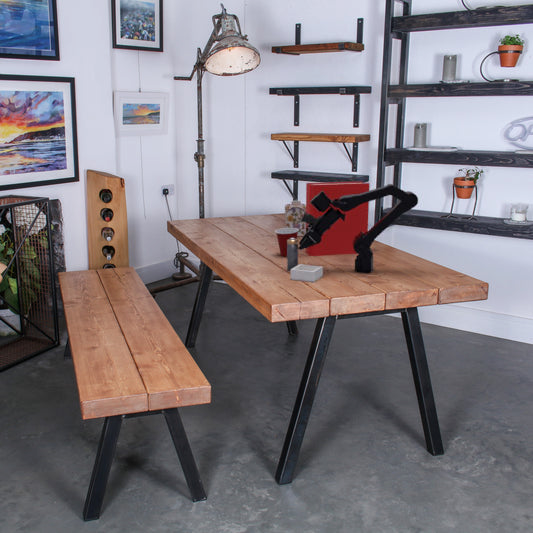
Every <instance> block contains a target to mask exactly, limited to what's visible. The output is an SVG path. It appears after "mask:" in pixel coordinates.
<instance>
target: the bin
mask: <svg viewBox="0 0 533 533" xmlns="http://www.w3.org/2000/svg"><path fill="white" fill-rule="evenodd" d="M323 272H324V266H320V265H313V264H311V265H310V264H303V263H302V264H301V263H300V264H298V266H296V267H294V268H292V269H291V271H290V280H293V281H298V282H299V281H302V282H307V281H308V282H307V283H315V282H316V281H317V280H319V279H321V278H323V277H324V275H323V274H324V273H323Z"/></svg>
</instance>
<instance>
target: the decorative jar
mask: <svg viewBox="0 0 533 533" xmlns="http://www.w3.org/2000/svg"><path fill="white" fill-rule="evenodd" d="M304 212H306V203H301V200H292V201H291V203H288V204H285V205H284V228H297V229H299V231H298V234H297V236H304V235H305V233H306V222H303V221H301V218H302V216H303V214H304Z"/></svg>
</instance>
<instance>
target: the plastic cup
mask: <svg viewBox="0 0 533 533" xmlns="http://www.w3.org/2000/svg"><path fill="white" fill-rule="evenodd" d="M298 231H299V229H297V228H285V227H283V228H278V229H276V230H275V231H274V234H276V238H277V242H278V249H279V253H280V256H281V257H283V256H285V257H284V258H287V240H288V239H290V238H295V239H297V238H298V237H297V234H298Z"/></svg>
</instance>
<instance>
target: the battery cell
mask: <svg viewBox="0 0 533 533" xmlns="http://www.w3.org/2000/svg"><path fill="white" fill-rule="evenodd" d="M298 248H299V239H295V238H290V239H288V240H287V257H286V260H287V262H286V263H287V265H286V266H287V267H286V268H287V271H288V272H291V269H292V268H294V267H296V266H298V265H299V249H298Z"/></svg>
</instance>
